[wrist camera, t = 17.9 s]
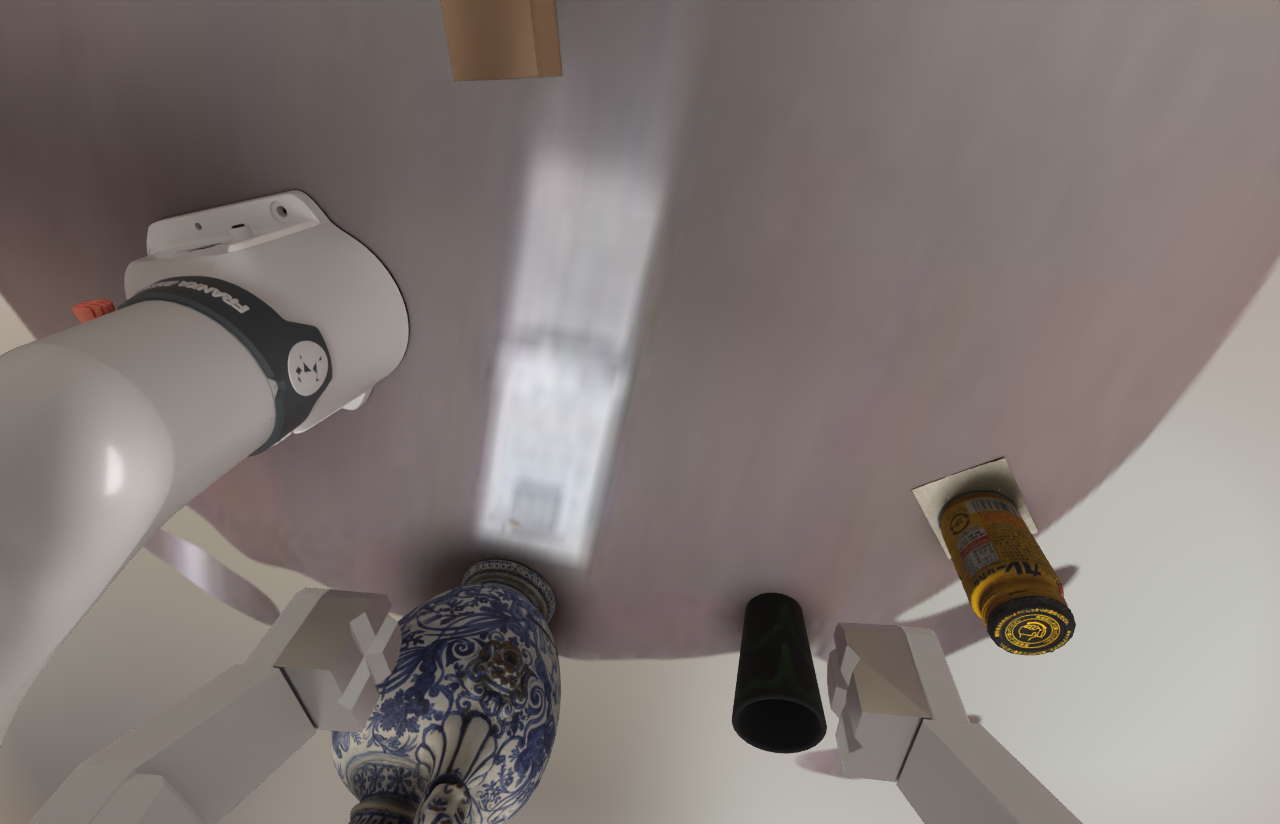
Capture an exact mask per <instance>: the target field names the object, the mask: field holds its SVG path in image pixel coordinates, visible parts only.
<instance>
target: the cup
mask: <svg viewBox="0 0 1280 824" xmlns="http://www.w3.org/2000/svg"><path fill="white" fill-rule="evenodd" d="M732 724H733V727H734V730H735V731H736V732H737V734H738V735H739V736H740V737H741V738H742V739H743V740H745V741H746V742H747V743H749V744H751V745H752V746H754V747H756V748H759V749H762V750H765V751H769V752H774V753H797V752H801V751H805V750H808V749H810V748H812V747H814V746H816V745H817V744H818V743H819V742H820V741H821V740H822V739H823V738H824V736H825V734H826V729H827V725H826V720H825V716H824V711H823V707H822V702H821V697H820V693H819V688H818V683H817V679H816V674H815V669H814V665H813V660H812V655H811V651H810V646H809V642H808V637H807V632H806V628H805V623H804V618H803V614H802V610H801V607H800V606H799V604H798V603H797V602H796V601H795V600H794V599H792V598H790V597H789V596H786V595H783V594H778V593H766V594H761V595H759V596H756V597H755V598H753V599H752V600H751V601H750V602H749V603H748V604H747V607H746V611H745V619H744V627H743V635H742V643H741V651H740V659H739V666H738V674H737V682H736V690H735V698H734V706H733V715H732Z"/></svg>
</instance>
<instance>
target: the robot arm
mask: <svg viewBox="0 0 1280 824" xmlns="http://www.w3.org/2000/svg"><path fill="white" fill-rule="evenodd" d="M283 207H284V208H285V209H286V211H287V214H285V213H284V211H283ZM147 254H148V256H147V257H143V258H140V259H137V260H135V261H132V262H131V263H130V264H129V265H128V267H127V269H126V272H125V277H124V288H125V294H126V299H127V301H125V302H124V303H123V304H121V305H120V306H119V308H118V309H117V310H116V311H115V308H114V305H113V303H112V301H110V300H92V301H87V302H84V303H80V304H78V305H75V306H74V307H73V308H72V310H73V312H74V314H75V315H76V317H77V318H78V319H79V321H80V322H81V324H79V325H76V326H73V327H71V328H68V329H65V330H63V331H60V332H57V333H55V334H52V335H49V336H47V337H44V338H41V339H39V340H36V341H34V342H31V343H29V344H26V345H23V346H20V347H17V348H14V349H12V350H10V351H8V352H6V353H4V354H3V355H1V356H0V746H1V744H2V742H3V739H4V737H5V735H6V733H7V730H8V728H9V726H10V723H11V721H12V719H13V717H14V715H15V713H16V711H17V709H18V707H19V705H20V704H21V702H22V700H23V699H24V697H25V695H26V694H27V692H28V690H29V689H30V687H31V685H32V684H33V683H34V681H35V680H36V678H37V677H38V675H39V674H40V672H41V671H42V670H43V668H44V667H45V666H46V664H47V663H48V662H49V660H50V659H51V658H52V657H53V655H54V654H55V653H56V652H57V650H58V649H59V647H60V646H61V645H62V644H63V643H64V641H65V640H66V639H67V638H68V636H69V635H70V634H71V633H72V631H73V630H74V629H75V627H76V626H77V625H78V624H79V622H80V621H81V620H82V619H83V617H84V616H85V615H86V614H87V613H88V611H89V610H90V609H91V608H92V606H93V605H94V604H95V603H96V602H97V600H98V599H99V598H100V597H101V595H102V594H103V593H104V592H105V590H106V589H107V588H108V587H109V586H110V584H111V583H112V582H113V581H114V579H115V578H116V577H117V576H118V575H119V574H120V572H121V571H122V570H123V569H124V568H125V566H126V565H127V564H128V563H129V561H130V560H131V559H132V558H133V557H134V556H135V555H136V553H137V552H138V551H139V550H140V549H141V548H142V547H143V546H144V544H145V543H146V542H147V541H148V540H149V539H150V538H151V537H152V536H153V535H154V534H155V533H156V532H157V531H158V530H159V529H160V528H161V527H162V526H163V525H164V524H165V523H166V522H167V521H168V520H169V519H170V518H171V517H172V516H173V515H174V514H176V513H177V512H178V511H179V510H180V509H181V508H183V507H184V506H185V505H187V504H188V503H189V502H190V501H192V500H193V499H194V498H195V497H197V496H198V495H199V494H200V493H202V492H203V491H204V490H205V489H207V488H208V487H209V486H210V485H212V484H213V483H214V482H215V481H217V480H218V479H219V478H220V477H222V476H223V475H224V474H225V473H227V472H228V471H229V470H231V469H232V468H233V467H234V466H236V465H237V464H238V463H240V462H241V461H242V460H243V459H245V458H246V457H249V456H254V455H257V454H260V453H261V452H263V451H265V450H267V449H268V448H270V447H271V446H274V445H276V444H278V443H279V442H280V441H282V440H284V439H285V438H286V437H288V436H289V435H290V434H291V433H292V432H294V433H301V432H304V431H306V430H308V429H309V428H311V427H313V426H314V425H316V424H317V423H319V422H321V421H322V420H324V419H325V418H327V417H328V416H330V415H332V414H333V413H335V412H336V411H338V410H339V409H341V408H343V409H347V410H355V409H357V408H359V407H360V406H362V405H363V404H364V403H365V402H366V401H367V399H368V397H369V395H370V393H371V391H372V388H373V386H374V385H375V384H376V383H377V382H379V381H380V380H381V379H383V378H385V377H386V376H387V375H389V374H390V373H391V372H392V371H393V370H394V369H395V368H396V367H397V366H398V365H399V363H400V362H401V360H402V358H403V356H404V353H405V351H406V347H407V343H408V334H409V327H408V317H407V312H406V308H405V305H404V302H403V299H402V296H401V294H400V292H399V290H398V288H397V286H396V284H395V282H394V280H393V279H392V277H391V276H390V274H389V273H388V271H387V270H386V268H385V267H384V266H383V265H382V263H381V262H380V261H379V260H378V259H377V258H376V257H375V256H374V255H373V254H372V253H371V252H370V251H369V250H368V249H367V248H366V247H365V246H363V245H362V244H361V243H360V242H358V241H357V240H356V239H354V238H353V237H351V236H349V235H348V234H346V233H345V232H343V231H342V230H340V229H339V228H338V227H336V226H335V225H334V224H333V223H331V222H330V220H329V219H328V218H327V217H326V215H325V214H324V213H323V212H322V210H321V209H320V208H319V207H318V206H317V205H316V203H315V202H314V201H313V200H312V199H311V198H310V197H309V196H307V195H306V194H305V193H303V192H301V191H297V190H293V191H288V192H283V193H279V194H274V195H270V196H265V197H261V198H256V199H251V200H247V201H242V202H238V203H233V204H229V205H224V206H220V207H215V208H211V209H206V210H202V211H197V212H193V213H188V214H184V215H179V216H175V217H170V218H166V219H162V220H160V221H157V222H154V223H152V224H150V226H149V228H148V233H147ZM391 607H392V605H391V603H390V601H389V599H388V596H387V595H386V594H375V593H364V592H353V591H342V590H332V589H318V588H304V589H303V590H302V591H300V592H298V593H297V594H296V595H295V596H294V597H293V599H292V600H291V601H290V603H289V604H288V605H287V607H286V608H285V609H284V611H283V612H282V613H281V615H280V616H279V617H278V619H277V620H276V621H275V623H274V624H273V625H272V627H271V628H270V629H269V631H268V632H267V633H266V635H265V636H264V637H263V639H262V640H261V641H260V643H259V644H258V645H257V647H256V648H255V649H254V651H253V652H252V653H251V655H250V656H249V657H248V659H247V660H246V661H245V663H244V664H243V665H234V666H232V667H230V668H229V669H227V670H226V671H224V672H223V673H221V674H219V675H218V676H217V677H215V678H213V679H212V680H210V681H209V682H207V683H205V684H204V685H202V686H201V687H199V688H198V689H196V690H194V691H193V692H191V693H190V694H188V695H187V696H185V697H184V698H182V699H180V700H179V701H177V702H176V703H174V704H173V705H171V706H169V707H168V708H166V709H165V710H163V711H162V712H160V713H159V714H157V715H155V716H154V717H152V718H151V719H149V720H148V721H146V722H144V723H143V724H141V725H140V726H138V727H137V728H135V729H134V730H132V731H130V732H129V733H128V734H126V735H124V736H123V737H121V738H119V739H118V740H116V741H115V742H113V743H112V744H110V745H109V746H107V747H105V748H104V749H102V750H101V751H99V752H98V753H96V754H94V755H93V756H91V757H90V758H88V759H87V760H85V761H83V762H82V763H80V764H79V765H78V766H77V767H76V769H75V770H74V771H73V772H72V773H71V774H70V776H69V777H68V778H67V779H66V780H65V781H64V782H63V784H62V785H61V786H60V787H59V788H58V790H56V792H55V793H54V794H53V795H52V796H51V798H50V799H49V800H48V801H47V802H46V803H45V804H44V805H43V807H42V808H41V809H40V810H39V811H38V812H37V813H36V814H35V816H34V817H33V818H32V819H31V820H30V821H29V823H28V824H217V823H218V822H219V821H220V820H221V819H223V818H224V817H225V816H226V815H227V814H228V813H229V812H230V811H231V810H232V809H233V808H235V807H236V806H237V805H238V804H239V803H240V802H241V801H242V800H243V799H244V798H246V797H247V796H248V795H249V794H250V793H251V792H252V791H253V790H254V789H255V788H256V787H258V786H259V785H260V784H261V783H262V782H263V781H264V780H265V779H266V778H267V777H268V776H269V775H271V774H272V773H273V772H274V771H275V770H276V769H277V768H278V767H279V766H280V765H282V764H283V763H284V762H285V761H286V760H287V759H288V758H289V757H290V756H291V755H292V754H294V753H295V752H296V751H297V750H298V749H299V748H300V747H301V746H302V745H303V744H305V742H307V741H308V740H309V739H310V738H311V737H312V736H313V735H314V734H315V733H316V730H329V731H346V732H362V731H363V729H364V727H365V725H366V723H367V721H368V719H369V717H370V715H371V713H372V711H373V709H374V707H375V705H376V703H377V701H378V699H379V697H380V695H379V690H378V684H379V683H380V682H382V681H383V680H384V679H385V678H387V677H388V676H389V675H391V673H392V671H393V669H394V667H395V665H396V663H397V661H398V658H399V654H400V649H401V645H402V635H401V629H400V626H399V623H398V622H397V621H396V620H394V619H393V618H392V617H390V616H389V615H388V613H389V611H390V609H391ZM834 640H835V645H836V649H834V650H833V651H831V652H830V654H829V660H828V666H827V685H828V694H829V701H830V707H831V709H832V710H833V712H834V713H835V714H836V715H837V716H838V718H839V723H838V727H837V731H836V740H837V746H838V751H839V757H840V762H841V767H842V773H843V776H849V777H858V778H866V779H875V780H883V781H892V782H897V786H898V787H899V789H900V790H901V792H902V793H903V795H904V796H905V797H906V799H907V800H908V801H909V803H910V804H911V806H912V807H913V808H914V810H915V811H916V812H917V814H918V815H919V817H920V818H921V819H922V821H923V822H924V823H925V824H1083V823H1082V822H1081V821H1080V820H1079V819H1077V818H1076V817H1075V816H1074V815H1073V814H1072V813H1071V812H1070V811H1069V810H1068V809H1067V808H1066V807H1065V806H1064V805H1063V804H1062V803H1061V802H1060V801H1059V800H1058V799H1057V798H1056V797H1055V796H1054V795H1053V794H1052V793H1051V792H1050V791H1049V790H1048V789H1047V788H1046V787H1044V786H1043V785H1042V784H1041V783H1040V782H1039V781H1038V780H1037V779H1036V778H1035V777H1034V776H1033V775H1032V774H1031V773H1030V772H1029V771H1028V770H1027V769H1026V768H1025V767H1024V766H1023V765H1022V764H1021V763H1020V762H1019V761H1017V759H1016V758H1015V757H1013V756H1012V755H1011V754H1010V753H1009V752H1008V751H1007V750H1006V749H1005V748H1004V747H1003V746H1002V745H1001V744H1000V743H999V742H998V741H997V740H996V739H995V738H994V737H993V736H992V735H991V734H990V733H989V732H988V731H987V730H986V729H985V728H984V727H983V726H982V725H981V724H976V723H970V721H969V719H968V716H967V714H966V711H965V708H964V706H963V703H962V701H961V698H960V695H959V693H958V690H957V688H956V685H955V682H954V680H953V677H952V675H951V672H950V669H949V667H948V664H947V662H946V659H945V656H944V654H943V651H942V648H941V646H940V643H939V641H938V638H937V635H936V634H935V633H934V631H933V630H932V629H930V628H918V627H901V626H900V627H898V626H897V625H878V624H858V623H838V625H837V626H836V629H835V633H834Z"/></svg>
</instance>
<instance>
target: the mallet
mask: <svg viewBox="0 0 1280 824" xmlns="http://www.w3.org/2000/svg"><path fill="white" fill-rule="evenodd" d="M440 1H441V7H442V13H443V18H444V24H445V30H446V36H447V41H448V47H449V53H450V58H451V64H452V70H453V76H454V81H475V80H501V79H519V78H537V77H555V76H563V75H562V65H561V54H560V44H559V33H558V23H557V13H556V2H555V0H440Z"/></svg>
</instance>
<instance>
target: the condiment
mask: <svg viewBox="0 0 1280 824" xmlns="http://www.w3.org/2000/svg"><path fill="white" fill-rule="evenodd" d="M999 489H1000V491H999ZM912 491H913V493H914V495H915V497H916V499H917V500H918V502H919V504H920V506H921V508H922V510H923V512H924V514H925V516H926V517H927V519H928V521H929V523H930V525H931V527H932V529H933V530H934V532H935V534H936V536H937V538H938V540H939V542H940V544H941V545H942V547H943V549H944V551H945V553H946V555H947V557H948V559H952V560H953V563H954V566H955V569H956V571H957V573H958V576H959V577H960V580H961V581H962V584H963V588H964V589H965V592H966V594H967V597H968V600H969V603H970V605H971V606H972V608H973V610H974V612H975V613H976V614H977V615H978V616H979V617H980V618H982V621H983V623H984V625H985V626H986V627H987V632H988V633H989V635H990V637H991V639H992V640H993V641H994V642H995V643H996V644H997V646H999V647H1001V648H1003V649H1004V650H1006V651H1008V652H1010V653H1013V654H1020V655H1040V654H1045V653H1048V652H1053V651H1054V650H1055V649H1058V648H1060V647H1062V646H1063V645H1065V644H1066V643H1067V642H1068V641H1069V639H1070V638H1072V636H1073V633H1074V629H1075V626H1076V623H1075V621H1074V616H1073V614H1072V613H1071V610H1070V609H1069V608H1068V606H1067V603H1066V601H1065V599H1064V592H1063V587H1062V584H1061V583H1060V580H1059V578H1058V576H1057V575H1056V573H1055V572H1054V570H1053V568H1052V567H1051V565H1050V563H1049V562H1048V560H1047V559H1046V557H1045V555H1044V554H1043V552H1042V550H1041V549H1040V547H1039V545H1038V544H1037V542H1036V540H1035V539H1034V537H1033V535H1032V534H1035V533H1037V532H1038V531H1037V529H1036V526H1035V524H1034V522H1033V520H1032V518H1031V515H1030V513H1029V511H1028V509H1027V506H1026V504H1025V502H1024V500H1023V497H1022V495H1021V493H1020V490H1019V488H1018V486H1017V484H1016V481H1015V479H1014V477H1013V475H1012V473H1011V470H1010V468H1009V466H1008V463H1007V461H1006V459H1005V458H1004V459H1000V460H997V461H995V462H989V463H987V464H984V465H981V466H978V467H975V468H972V469H968V470H965V471H962V472H960V473H957V474H954V475H950V476H947V477H945V478H943V479H941V480H938V481H935V482H932V483H928V484H926V485H924V486H921V487H919V488H916V489H913V490H912ZM947 495H948V498H947V499H946V498H945V497H946V496H947ZM944 500H947V501H946V502H944Z"/></svg>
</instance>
